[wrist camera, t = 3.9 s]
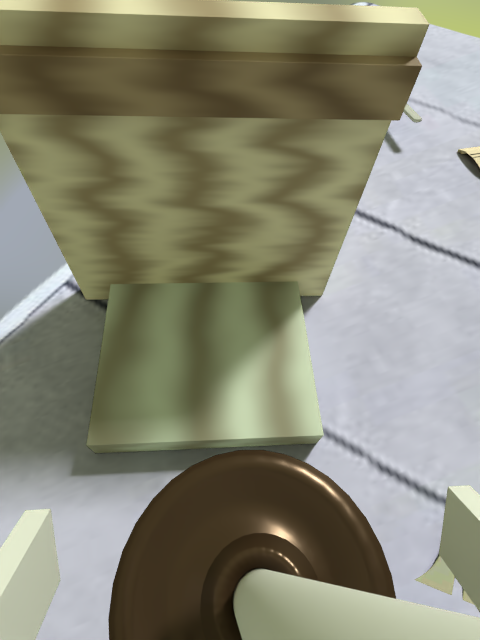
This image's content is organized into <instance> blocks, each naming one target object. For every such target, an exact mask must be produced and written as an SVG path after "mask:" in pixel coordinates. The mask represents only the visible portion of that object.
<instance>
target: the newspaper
mask: <svg viewBox="0 0 480 640" xmlns="http://www.w3.org/2000/svg"><path fill="white" fill-rule="evenodd" d="M458 152H460V153H461V154H469V155H470V156H471V157H472V158H474V160H475V161H476V163H477V164H478V166H479V167H480V146H479V147H472V148H465V149H459V150H458Z"/></svg>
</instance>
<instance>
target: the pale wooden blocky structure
mask: <svg viewBox="0 0 480 640" xmlns="http://www.w3.org/2000/svg"><path fill="white" fill-rule="evenodd" d="M428 27H429V23H428V22H427V20H426V19H425V17H424V16H423V15H422V13H421V12H420V10H419V9H418V8H407V7H382V6H356V5H329V4H302V3H301V4H300V3H275V2H249V1H222V0H0V132H1V134H2V136H3V138H4V140H5V142H6V144H7V146H8V148H9V150H10V152H11V154H12V155H13V158H14V160H15V162H16V163H17V165H18V167H19V169H20V171H21V173H22V175H23V177H24V179H25V181H26V183H27V185H28V187H29V189H30V191H31V193H32V195H33V197H34V199H35V201H36V203H37V204H38V207H39V209H40V211H41V213H42V215H43V216H44V218H45V220H46V222H47V224H48V226H49V228H50V230H51V232H52V234H53V236H54V238H55V240H56V242H57V244H58V246H59V248H60V249H61V252H62V254H63V256H64V257H65V260H66V262H67V264H68V265H69V267H70V269H71V271H72V273H73V275H74V277H75V279H76V281H77V283H78V285H79V287H80V289H81V291H82V293H83V295H84V297H85V299H86V300H100V299H108V305H107V312H106V318H105V325H104V332H103V338H102V345H101V351H100V358H99V365H98V371H97V378H96V384H95V391H94V398H93V404H92V411H91V417H90V424H89V431H88V437H87V444H86V446H87V447H89V448H90V449H91V450H92V451H93V452H94V453H112V452H135V451H157V450H180V449H202V448H225V447H247V446H270V445H292V444H315V443H317V442H318V441H319V440H320V439H321V438H322V436H323V429H322V423H321V417H320V411H319V405H318V399H317V393H316V387H315V381H314V375H313V369H312V363H311V357H310V351H309V345H308V339H307V333H306V328H305V322H304V316H303V310H302V304H301V298H300V296H322V294H323V292H324V289H325V287H326V284H327V282H328V279H329V277H330V274H331V272H332V269H333V267H334V264H335V261H336V259H337V256H338V254H339V251H340V249H341V246H342V244H343V241H344V239H345V236H346V234H347V231H348V229H349V226H350V224H351V221H352V219H353V216H354V213H355V211H356V208H357V206H358V203H359V201H360V198H361V196H362V193H363V191H364V188H365V186H366V183H367V181H368V178H369V176H370V173H371V171H372V168H373V165H374V163H375V160H376V158H377V155H378V153H379V150H380V148H381V145H382V143H383V140H384V138H385V135H386V133H387V130H388V128H389V125H390V123H391V120H400V118H401V116H402V113H403V111H404V108H405V106H406V104H407V101H408V99H409V96H410V94H411V91H412V89H413V87H414V84H415V82H416V79H417V77H418V75H419V72H420V70H421V67H422V65H421V63H420V62H419V60H418V58H417V54H418V52H419V49H420V47H421V44H422V42H423V39H424V37H425V34H426V32H427V29H428Z"/></svg>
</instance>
